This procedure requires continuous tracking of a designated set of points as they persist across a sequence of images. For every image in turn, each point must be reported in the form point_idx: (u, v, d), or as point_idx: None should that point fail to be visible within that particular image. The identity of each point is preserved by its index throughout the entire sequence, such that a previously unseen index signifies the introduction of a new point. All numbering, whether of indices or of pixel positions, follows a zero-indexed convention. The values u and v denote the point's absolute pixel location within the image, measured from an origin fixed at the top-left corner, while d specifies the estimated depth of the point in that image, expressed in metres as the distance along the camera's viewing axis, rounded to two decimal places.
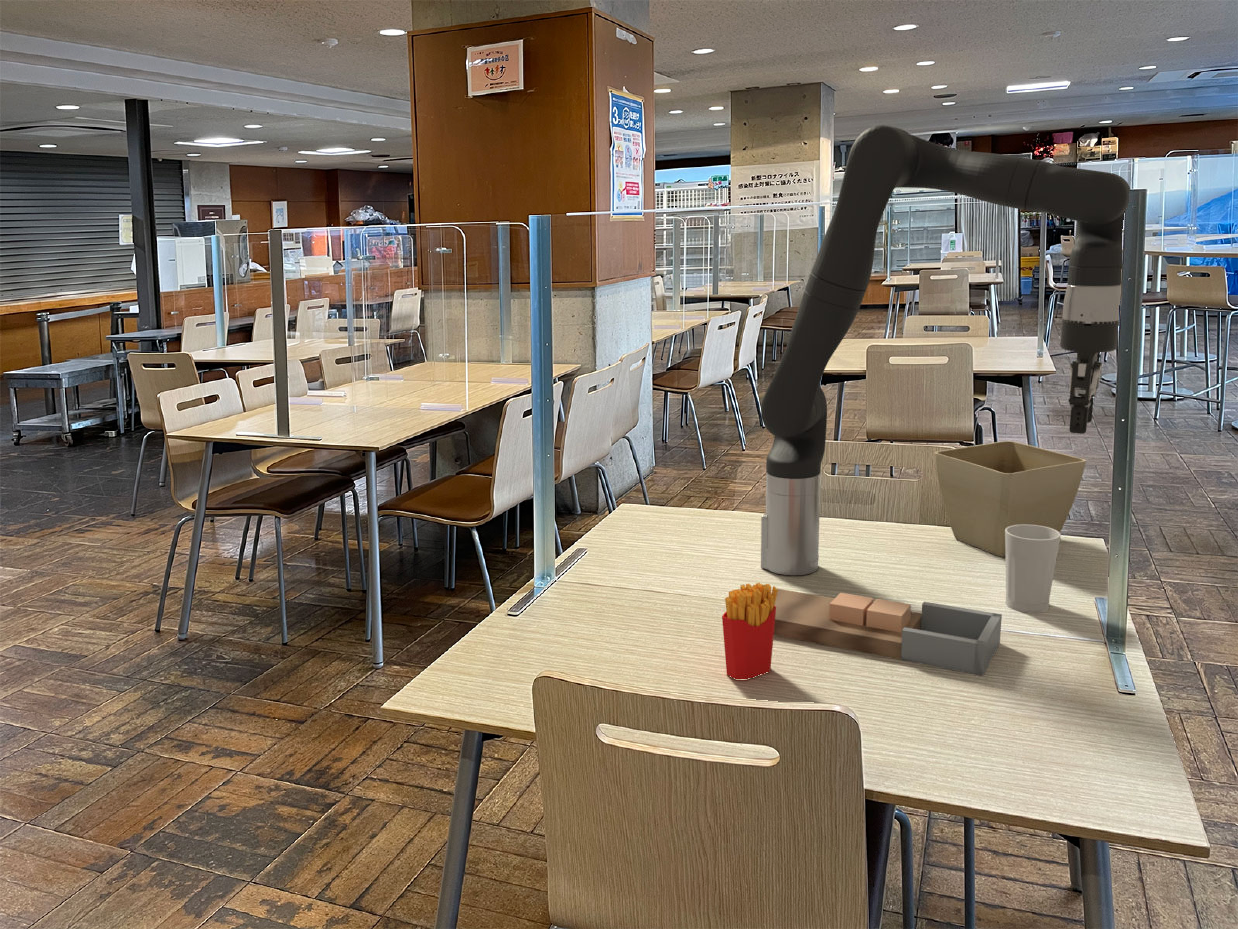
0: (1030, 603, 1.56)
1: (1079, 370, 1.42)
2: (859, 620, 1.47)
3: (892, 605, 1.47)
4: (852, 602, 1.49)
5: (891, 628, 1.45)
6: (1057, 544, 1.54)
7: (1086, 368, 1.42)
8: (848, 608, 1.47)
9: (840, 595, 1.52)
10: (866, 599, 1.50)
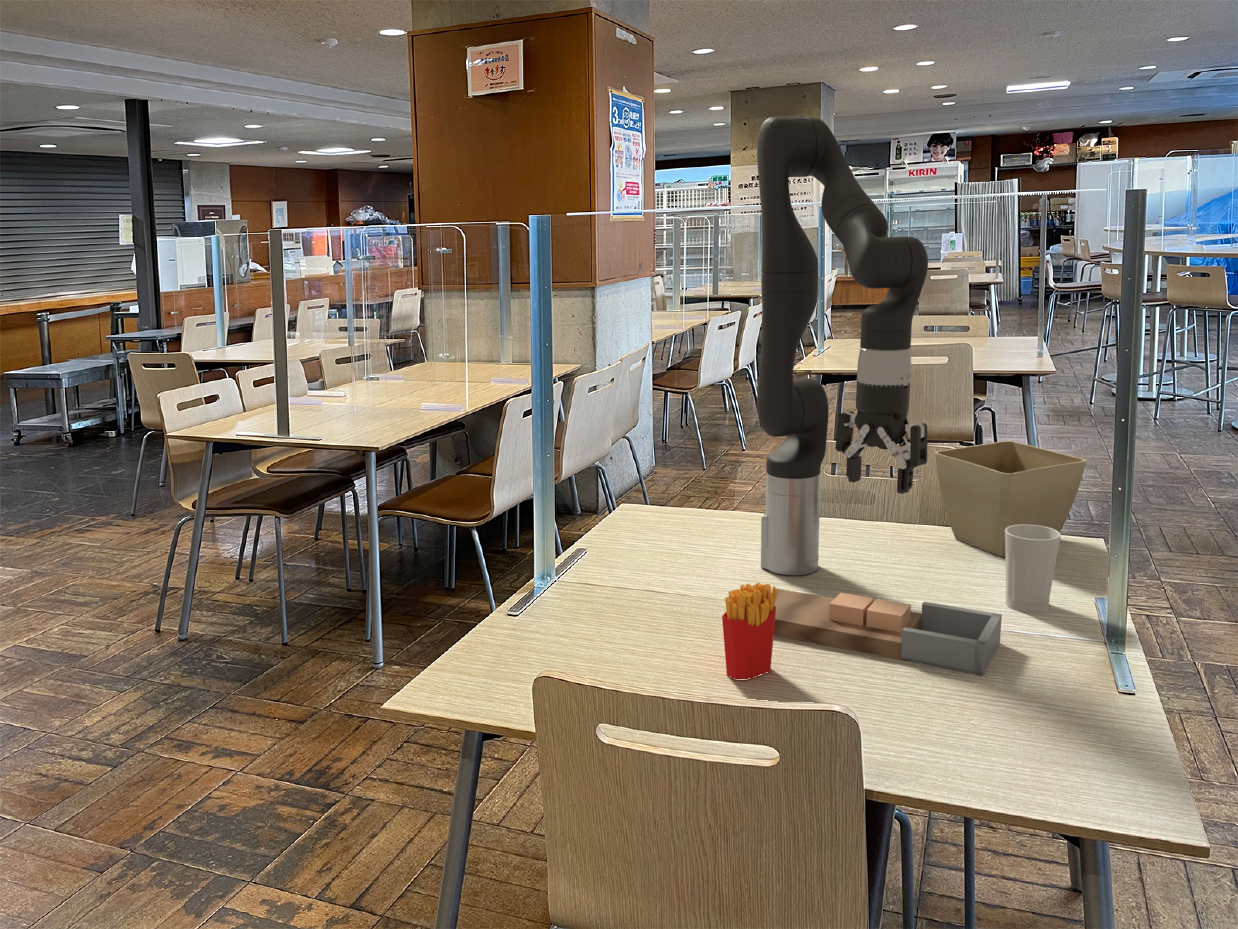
0: (1030, 603, 1.56)
1: (921, 432, 1.43)
2: (859, 620, 1.47)
3: (892, 605, 1.47)
4: (852, 602, 1.49)
5: (891, 628, 1.45)
6: (1057, 544, 1.54)
7: (924, 429, 1.44)
8: (848, 608, 1.47)
9: (840, 595, 1.52)
10: (866, 599, 1.50)
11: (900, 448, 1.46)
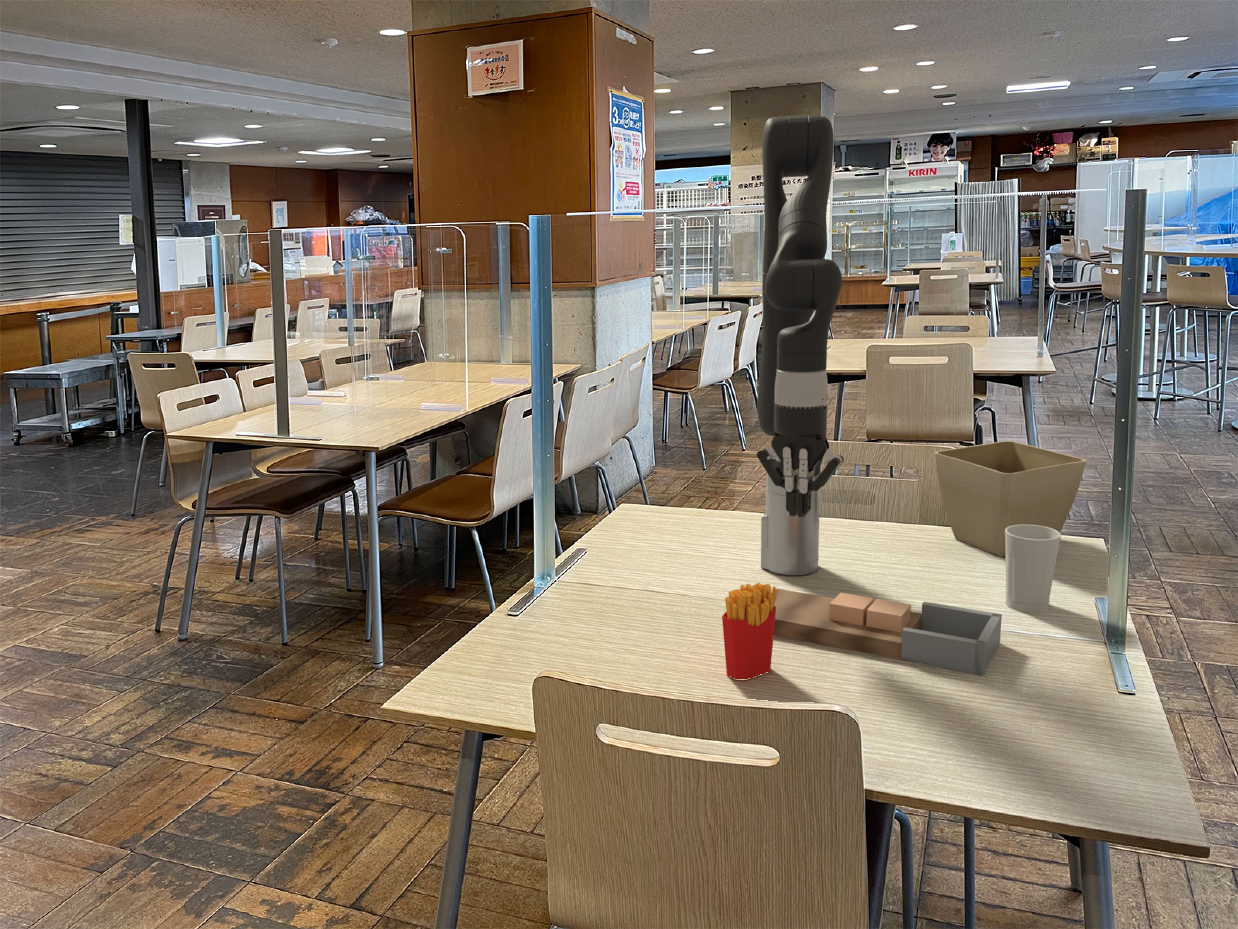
0: (1030, 603, 1.56)
1: (837, 466, 1.46)
2: (859, 620, 1.47)
3: (892, 605, 1.47)
4: (852, 602, 1.49)
5: (891, 628, 1.45)
6: (1057, 544, 1.54)
7: (840, 463, 1.46)
8: (848, 608, 1.47)
9: (840, 595, 1.52)
10: (866, 599, 1.50)
11: (809, 474, 1.48)
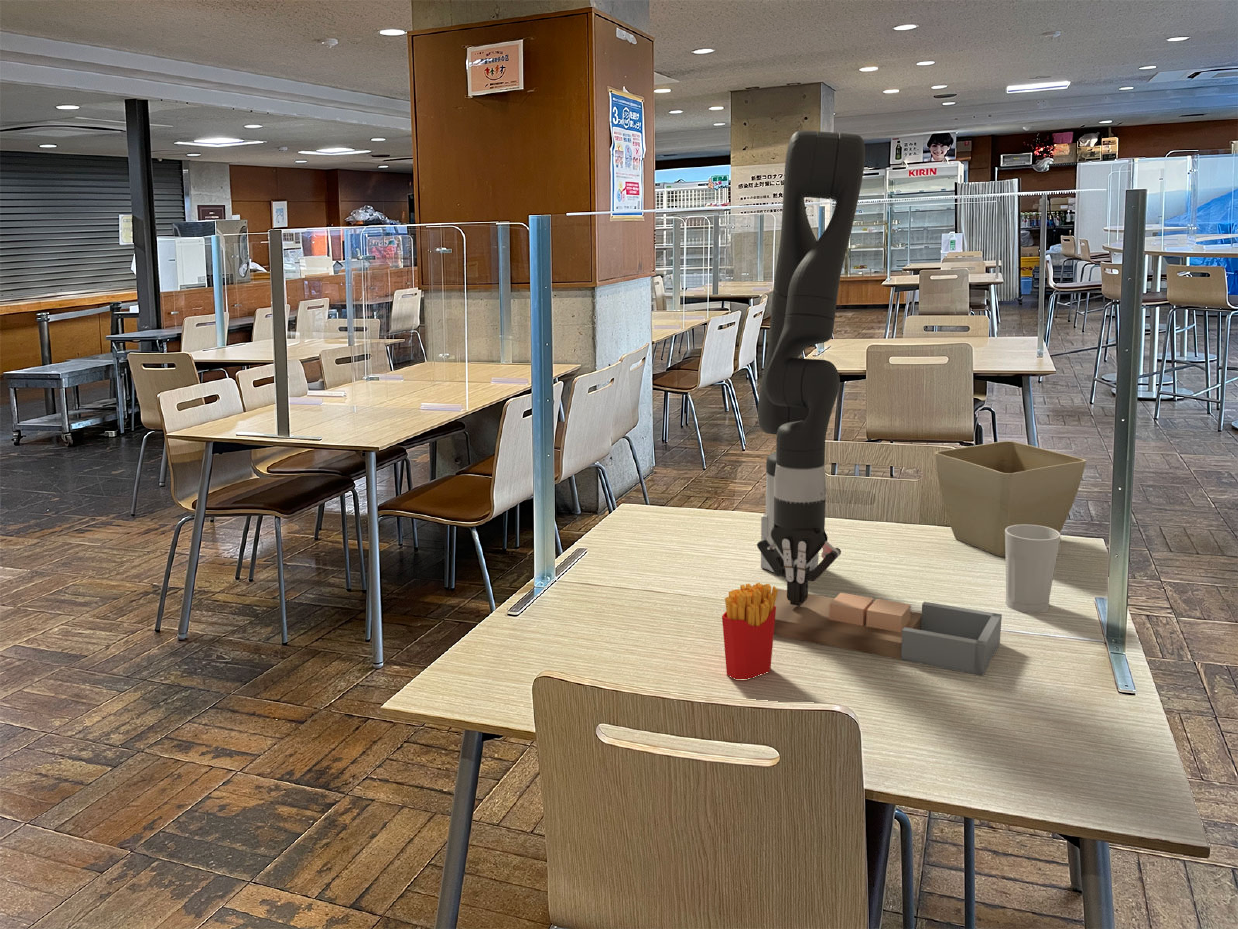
0: (1030, 603, 1.56)
1: None
2: (859, 620, 1.47)
3: (892, 605, 1.47)
4: (852, 602, 1.49)
5: (891, 628, 1.45)
6: (1057, 544, 1.54)
7: None
8: (848, 608, 1.47)
9: (840, 595, 1.52)
10: (866, 599, 1.50)
11: (807, 565, 1.51)
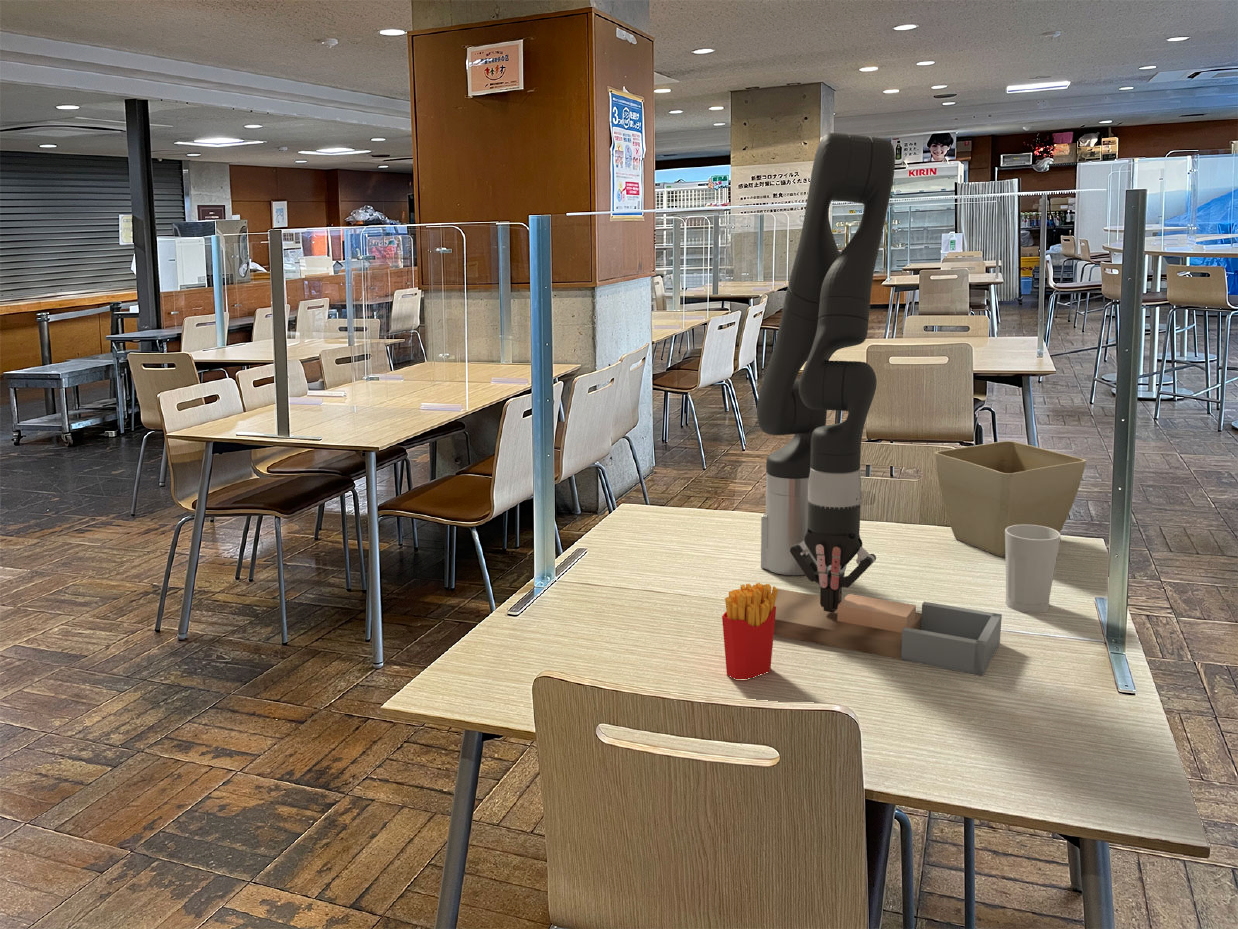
0: (1030, 603, 1.56)
1: None
2: (867, 621, 1.46)
3: (897, 606, 1.47)
4: (860, 603, 1.48)
5: (896, 629, 1.44)
6: (1057, 544, 1.54)
7: None
8: (856, 610, 1.47)
9: (848, 596, 1.51)
10: (874, 600, 1.49)
11: (841, 571, 1.48)
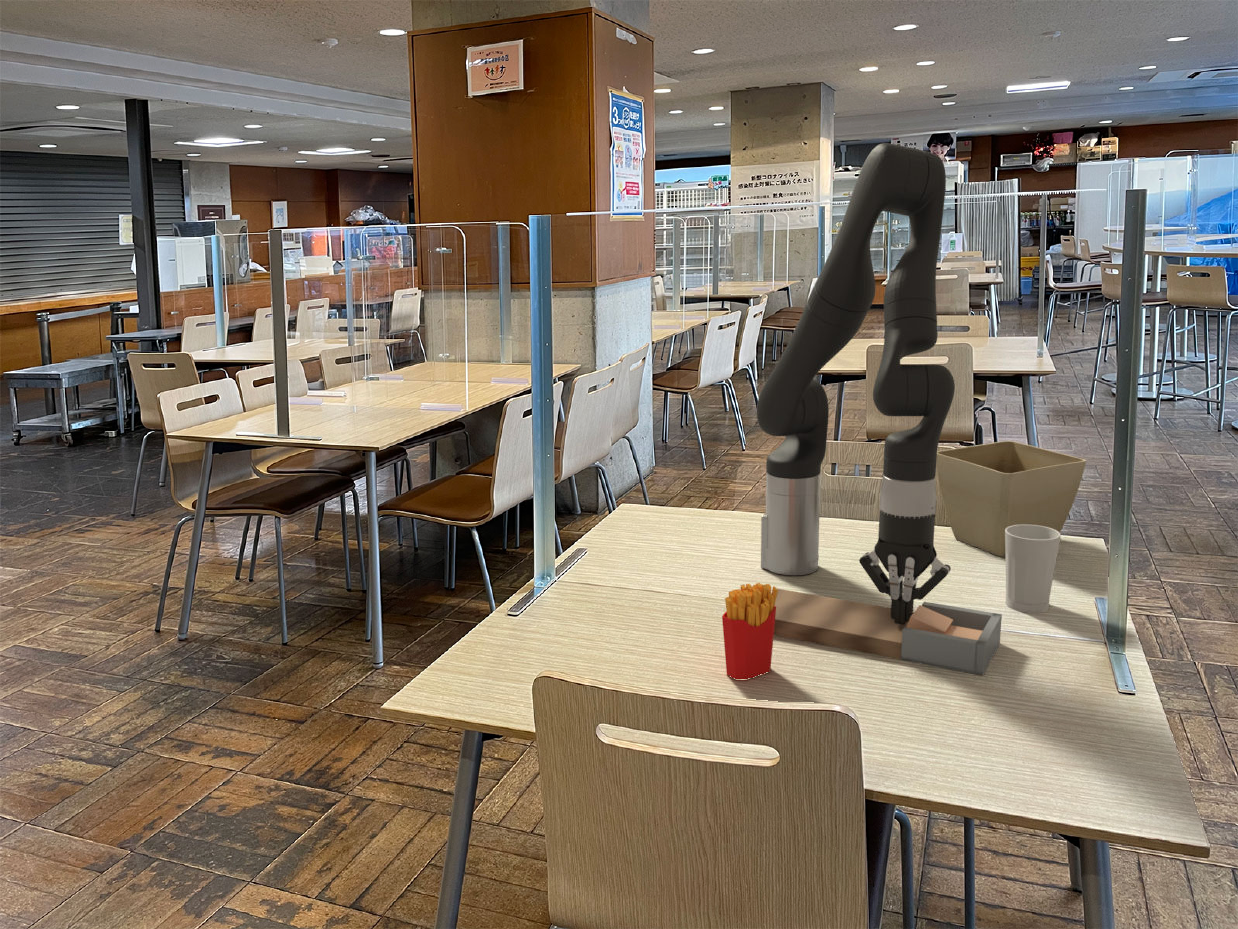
0: (1030, 603, 1.56)
1: None
2: None
3: (968, 632, 1.42)
4: (932, 619, 1.44)
5: None
6: (1057, 544, 1.54)
7: None
8: (929, 626, 1.42)
9: (920, 608, 1.46)
10: (946, 619, 1.45)
11: (913, 582, 1.43)
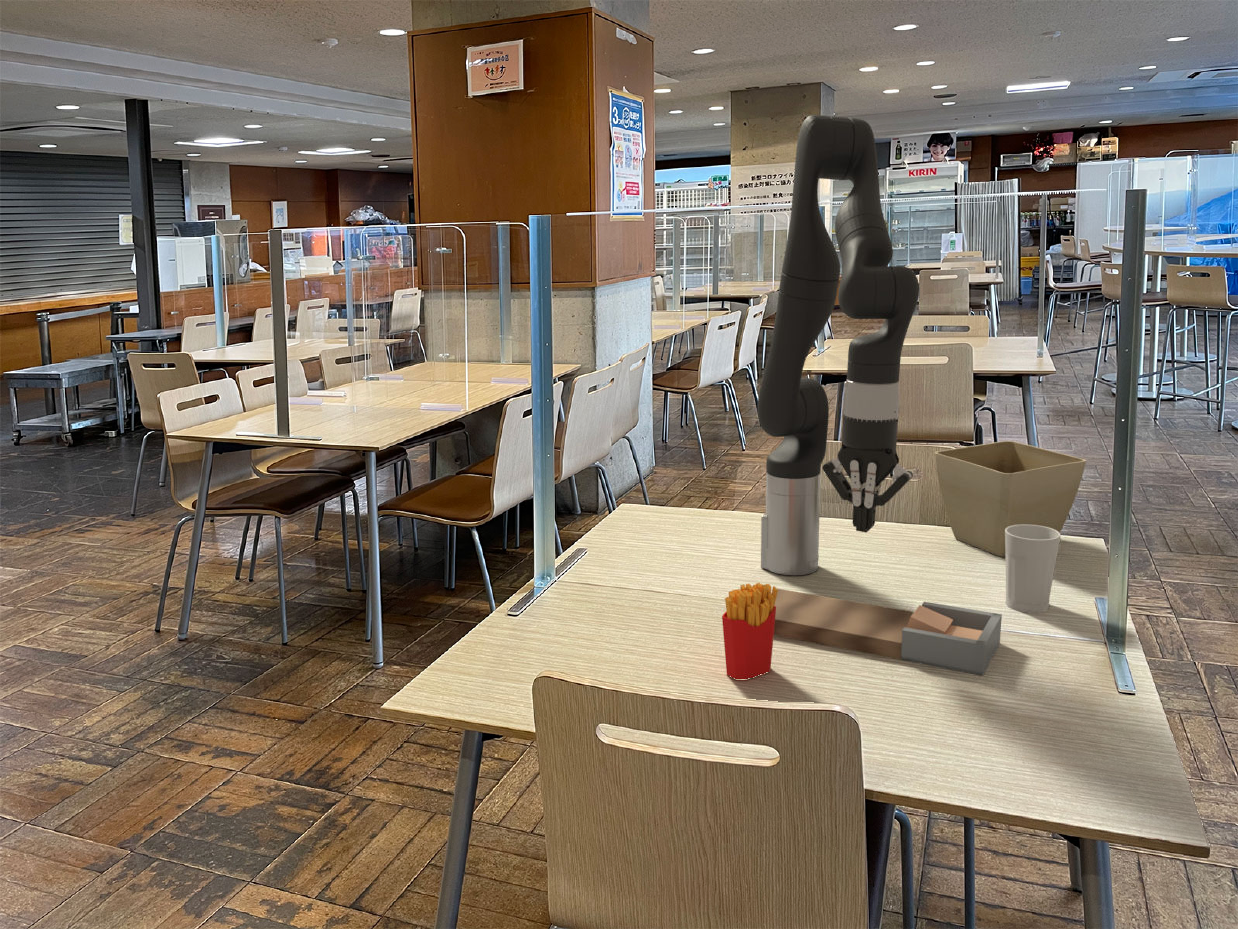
0: (1030, 603, 1.56)
1: None
2: None
3: (968, 632, 1.42)
4: (932, 619, 1.44)
5: None
6: (1057, 544, 1.54)
7: (909, 479, 1.41)
8: (929, 626, 1.42)
9: (920, 608, 1.46)
10: (946, 619, 1.45)
11: (875, 488, 1.43)
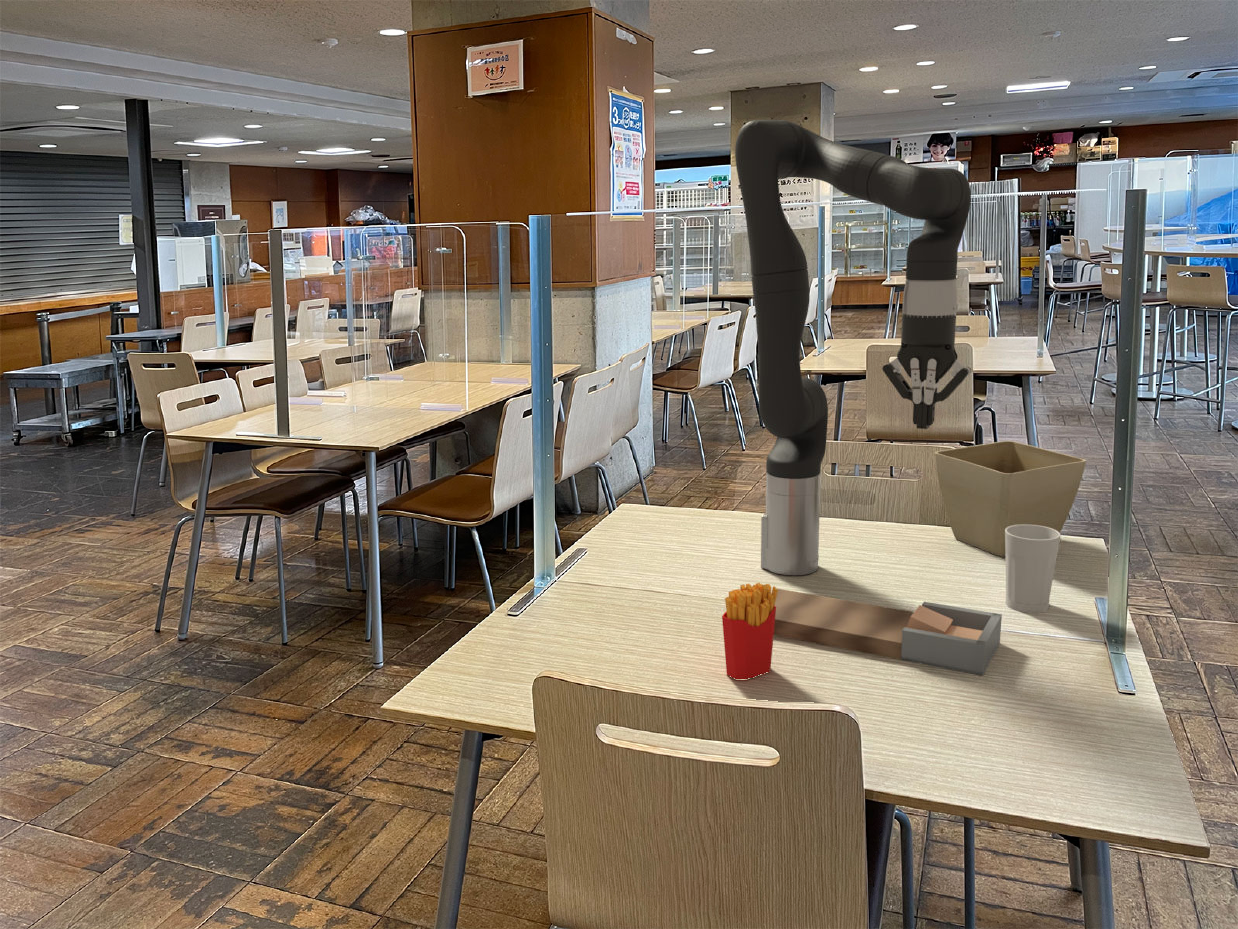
0: (1030, 603, 1.56)
1: (965, 377, 1.47)
2: None
3: (968, 632, 1.42)
4: (932, 619, 1.44)
5: None
6: (1057, 544, 1.54)
7: (968, 374, 1.47)
8: (929, 626, 1.42)
9: (920, 608, 1.46)
10: (946, 619, 1.45)
11: (935, 385, 1.49)
